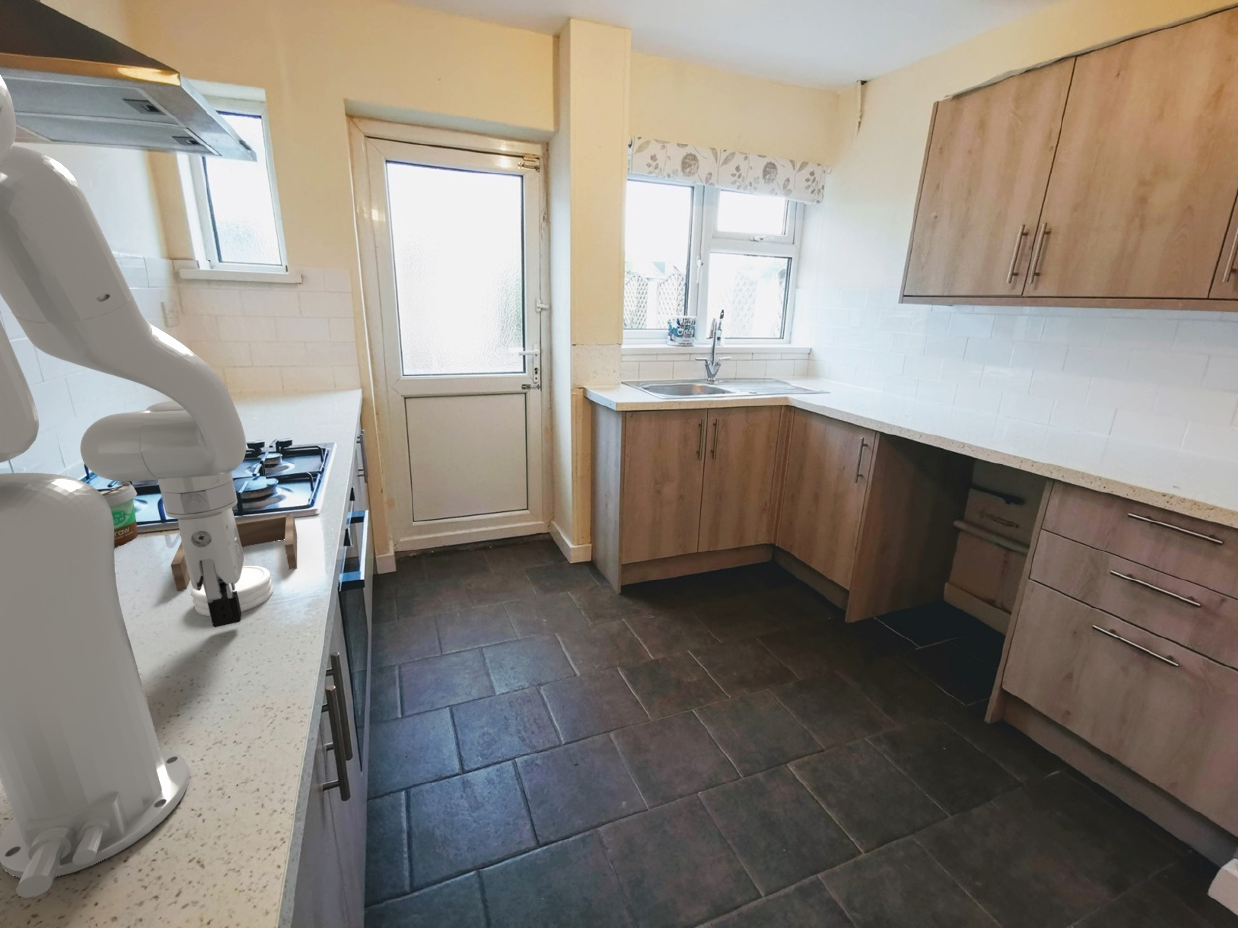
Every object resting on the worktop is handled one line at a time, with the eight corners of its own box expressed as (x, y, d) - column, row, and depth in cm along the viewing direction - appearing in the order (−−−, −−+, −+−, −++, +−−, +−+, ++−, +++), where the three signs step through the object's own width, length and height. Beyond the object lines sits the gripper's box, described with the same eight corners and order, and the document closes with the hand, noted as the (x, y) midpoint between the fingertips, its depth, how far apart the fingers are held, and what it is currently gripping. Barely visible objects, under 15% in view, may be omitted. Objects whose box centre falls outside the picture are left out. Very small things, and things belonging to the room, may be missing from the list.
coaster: (274, 578, 92) (270, 559, 91) (273, 606, 84) (269, 585, 83) (199, 593, 87) (194, 573, 86) (191, 625, 79) (185, 603, 78)
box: (297, 568, 95) (292, 543, 94) (177, 590, 87) (170, 564, 86) (297, 535, 108) (293, 513, 106) (192, 552, 100) (186, 529, 99)
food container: (95, 558, 98) (80, 504, 95) (67, 554, 99) (51, 501, 96) (163, 530, 109) (151, 482, 107) (137, 527, 111) (125, 479, 108)
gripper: (229, 511, 68) (256, 642, 73) (240, 476, 80) (262, 591, 85) (150, 522, 64) (185, 659, 69) (174, 484, 77) (202, 603, 82)
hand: (227, 621), depth 77 cm, fingers closed
